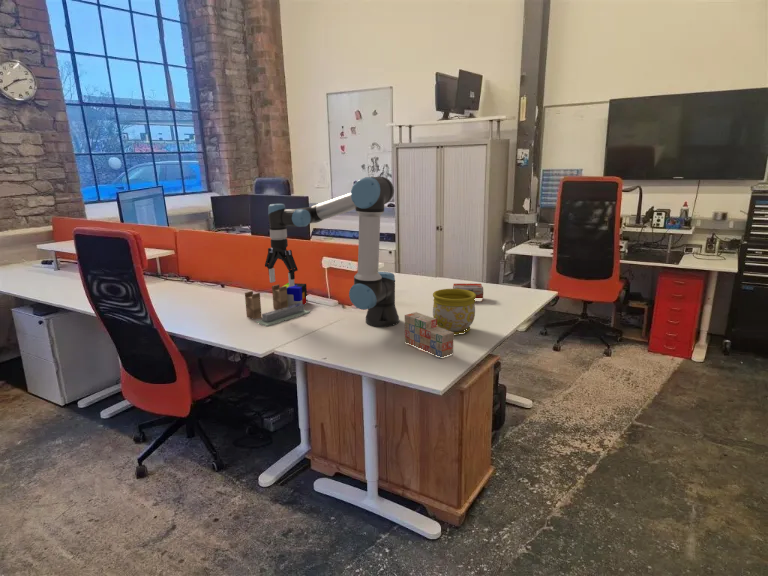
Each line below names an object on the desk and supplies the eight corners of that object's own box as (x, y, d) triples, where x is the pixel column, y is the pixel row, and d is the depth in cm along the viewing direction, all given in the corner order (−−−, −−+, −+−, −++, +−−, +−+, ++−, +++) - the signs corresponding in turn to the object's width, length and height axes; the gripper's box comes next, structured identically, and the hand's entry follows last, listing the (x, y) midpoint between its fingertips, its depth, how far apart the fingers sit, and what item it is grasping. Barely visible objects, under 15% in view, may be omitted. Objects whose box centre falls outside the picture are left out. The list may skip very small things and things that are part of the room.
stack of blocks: (453, 355, 185) (454, 324, 182) (441, 359, 181) (442, 328, 178) (416, 340, 202) (416, 311, 198) (404, 343, 198) (404, 314, 195)
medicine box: (453, 302, 256) (454, 287, 254) (452, 297, 264) (452, 283, 262) (483, 302, 255) (483, 287, 253) (481, 298, 263) (481, 283, 261)
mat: (310, 312, 240) (310, 311, 240) (267, 326, 220) (267, 324, 220) (299, 309, 245) (299, 308, 244) (255, 322, 225) (255, 321, 225)
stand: (287, 309, 245) (286, 286, 242) (254, 319, 230) (252, 294, 227) (279, 307, 249) (278, 284, 246) (246, 316, 234) (244, 292, 231)
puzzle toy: (300, 307, 248) (299, 288, 246) (281, 306, 250) (280, 287, 248) (307, 302, 258) (306, 283, 255) (289, 301, 260) (288, 283, 257)
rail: (299, 310, 242) (298, 303, 241) (303, 311, 239) (303, 304, 239) (262, 321, 225) (262, 314, 224) (267, 322, 223) (266, 315, 222)
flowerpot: (465, 340, 200) (467, 301, 196) (425, 333, 209) (425, 296, 205) (480, 327, 215) (481, 291, 211) (442, 321, 224) (442, 286, 220)
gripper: (303, 239, 218) (306, 286, 224) (267, 235, 234) (271, 279, 239) (290, 241, 213) (293, 289, 218) (254, 237, 228) (258, 282, 233)
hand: (282, 284), depth 228 cm, fingers open, 13 cm apart
